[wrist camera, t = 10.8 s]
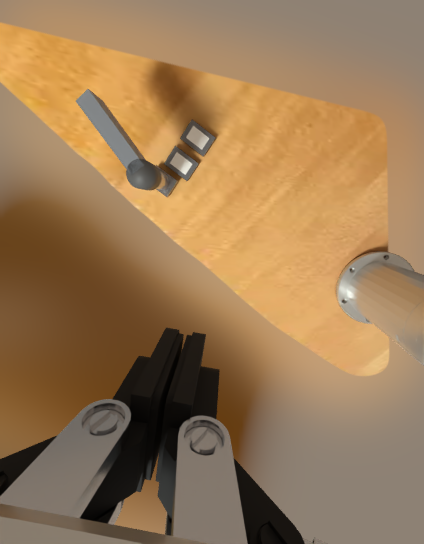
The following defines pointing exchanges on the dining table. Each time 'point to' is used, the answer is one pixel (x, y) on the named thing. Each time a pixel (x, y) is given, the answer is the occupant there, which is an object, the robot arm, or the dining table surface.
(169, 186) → the bar post
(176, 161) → the label plate
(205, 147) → the label plate
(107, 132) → the swing bar
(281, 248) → the dining table surface
